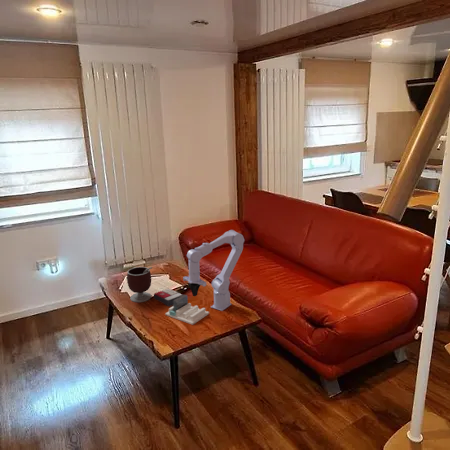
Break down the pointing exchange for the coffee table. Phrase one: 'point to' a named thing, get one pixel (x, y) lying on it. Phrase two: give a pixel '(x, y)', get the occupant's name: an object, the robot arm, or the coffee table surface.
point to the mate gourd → (139, 283)
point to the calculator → (167, 296)
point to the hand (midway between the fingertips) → (194, 295)
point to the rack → (188, 313)
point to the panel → (180, 302)
